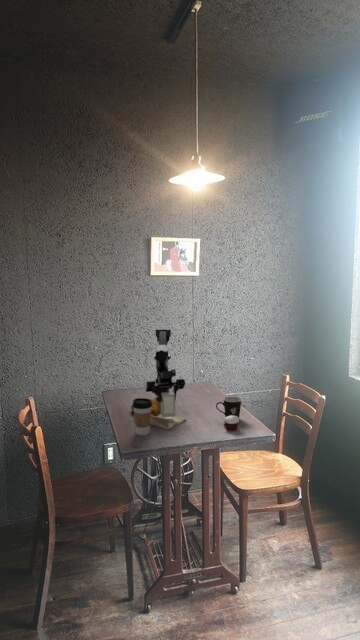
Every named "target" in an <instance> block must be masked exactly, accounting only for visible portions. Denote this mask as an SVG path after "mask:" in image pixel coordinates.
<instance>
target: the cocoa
mask: <svg viewBox="0 0 360 640" xmlns="http://www.w3.org/2000/svg"><path fill="white" fill-rule="evenodd" d="M240 404H242V400H241V401H238V404H237V408H236V412H235V416H232V415H230V416H228V417H226V418H225V417H224V423H223V428H224V429H226V430H228V431H235V430H237V429H238V426H239V422H240V417H239V418H238V417H237V415H238V411H239V407H240Z"/></svg>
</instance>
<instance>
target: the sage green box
mask: <svg viewBox="0 0 360 640" xmlns="http://www.w3.org/2000/svg"><path fill="white" fill-rule="evenodd" d="M161 396H162V402H161V401H160V404H161V412H160V415H161V416H162V417H174V416H176V402H175V401H176V400H175V393H174V392H173V391H169V392H163V393H161Z"/></svg>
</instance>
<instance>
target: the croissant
mask: <svg viewBox="0 0 360 640" xmlns="http://www.w3.org/2000/svg"><path fill="white" fill-rule="evenodd" d="M143 398H144V399H147V398H145V397H143ZM149 399H150V400H151V402H152V407H151V415H154V416H156V415H157V416H158V414H161V402H160V403H159V401H157V400H155V399H151V398H149ZM130 409H131V410H132V412H133V413H134V407H133V403H132V405H131V407H130Z"/></svg>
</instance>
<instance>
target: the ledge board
mask: <svg viewBox="0 0 360 640" xmlns="http://www.w3.org/2000/svg"><path fill="white" fill-rule="evenodd" d="M185 422H187V418H185V417H183V416H178V415H175V416H174V417H162V416H161V414H160V415H157V416H156V415H151V420H150V425H153V426H154V427H155V426H156V427H159V428H162V429H165V430H169V429H171V428H173V427H175V426H178V425H180V424H182V423H185Z"/></svg>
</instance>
